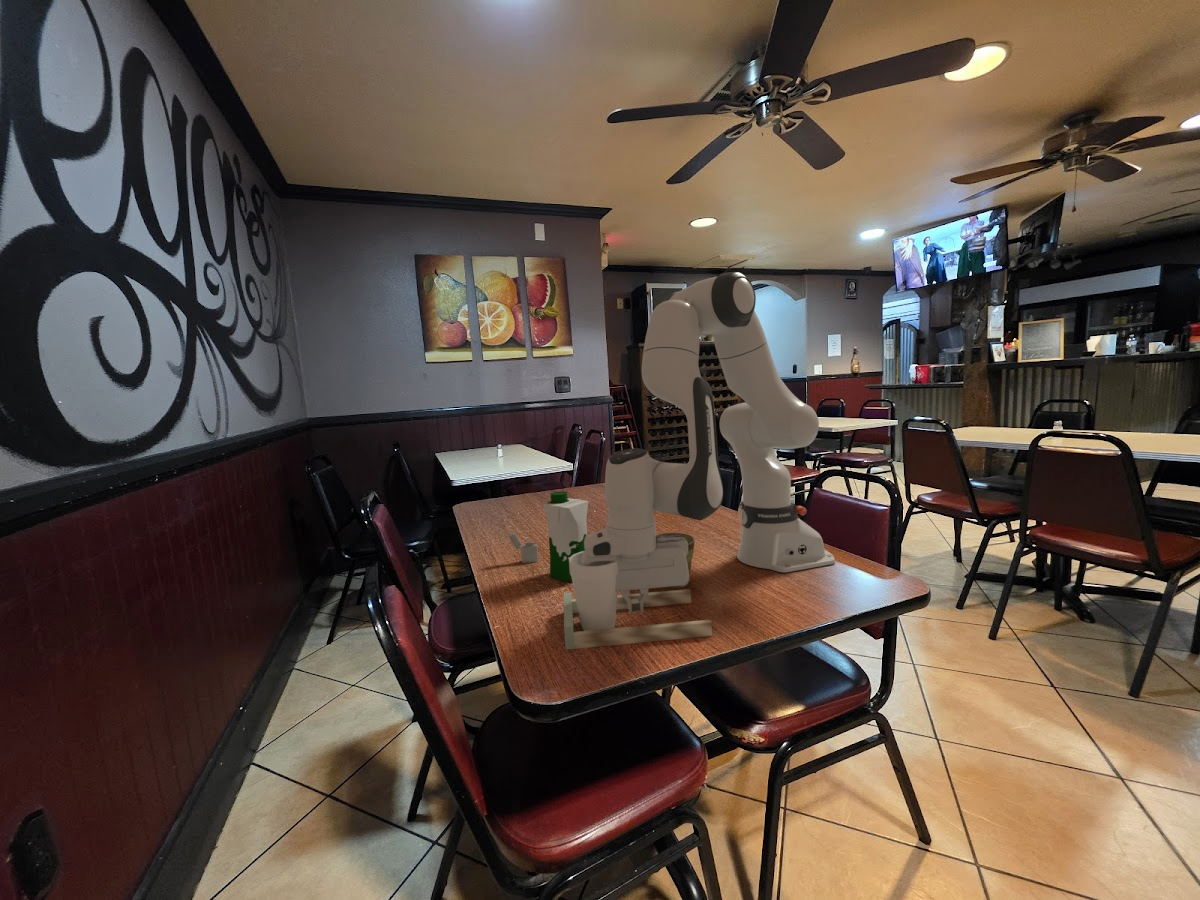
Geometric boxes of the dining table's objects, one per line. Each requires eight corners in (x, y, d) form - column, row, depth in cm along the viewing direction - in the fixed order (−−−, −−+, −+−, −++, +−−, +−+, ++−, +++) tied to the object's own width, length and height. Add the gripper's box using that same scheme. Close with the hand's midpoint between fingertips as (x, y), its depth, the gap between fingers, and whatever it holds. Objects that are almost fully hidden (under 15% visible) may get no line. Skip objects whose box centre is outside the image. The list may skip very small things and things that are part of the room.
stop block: (572, 611, 92) (571, 592, 92) (574, 648, 78) (573, 626, 78) (565, 611, 92) (563, 592, 92) (565, 649, 78) (564, 627, 78)
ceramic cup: (704, 580, 104) (703, 537, 102) (678, 595, 97) (677, 549, 95) (658, 567, 113) (657, 528, 112) (632, 580, 106) (629, 538, 105)
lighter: (538, 559, 123) (536, 530, 122) (537, 561, 121) (535, 532, 120) (511, 561, 123) (509, 532, 122) (510, 564, 121) (508, 534, 120)
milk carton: (568, 565, 117) (563, 488, 115) (596, 572, 112) (592, 491, 109) (544, 577, 110) (538, 496, 108) (573, 585, 105) (567, 499, 102)
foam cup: (580, 642, 80) (575, 570, 79) (567, 619, 89) (563, 554, 88) (630, 631, 83) (627, 562, 82) (613, 609, 92) (610, 546, 90)
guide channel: (689, 600, 94) (689, 589, 94) (711, 635, 80) (711, 622, 80) (572, 611, 92) (571, 599, 92) (574, 648, 78) (573, 634, 78)
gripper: (683, 529, 88) (685, 597, 90) (576, 537, 86) (580, 607, 88) (692, 539, 82) (695, 612, 83) (577, 548, 80) (582, 623, 82)
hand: (635, 610), depth 86 cm, fingers closed
